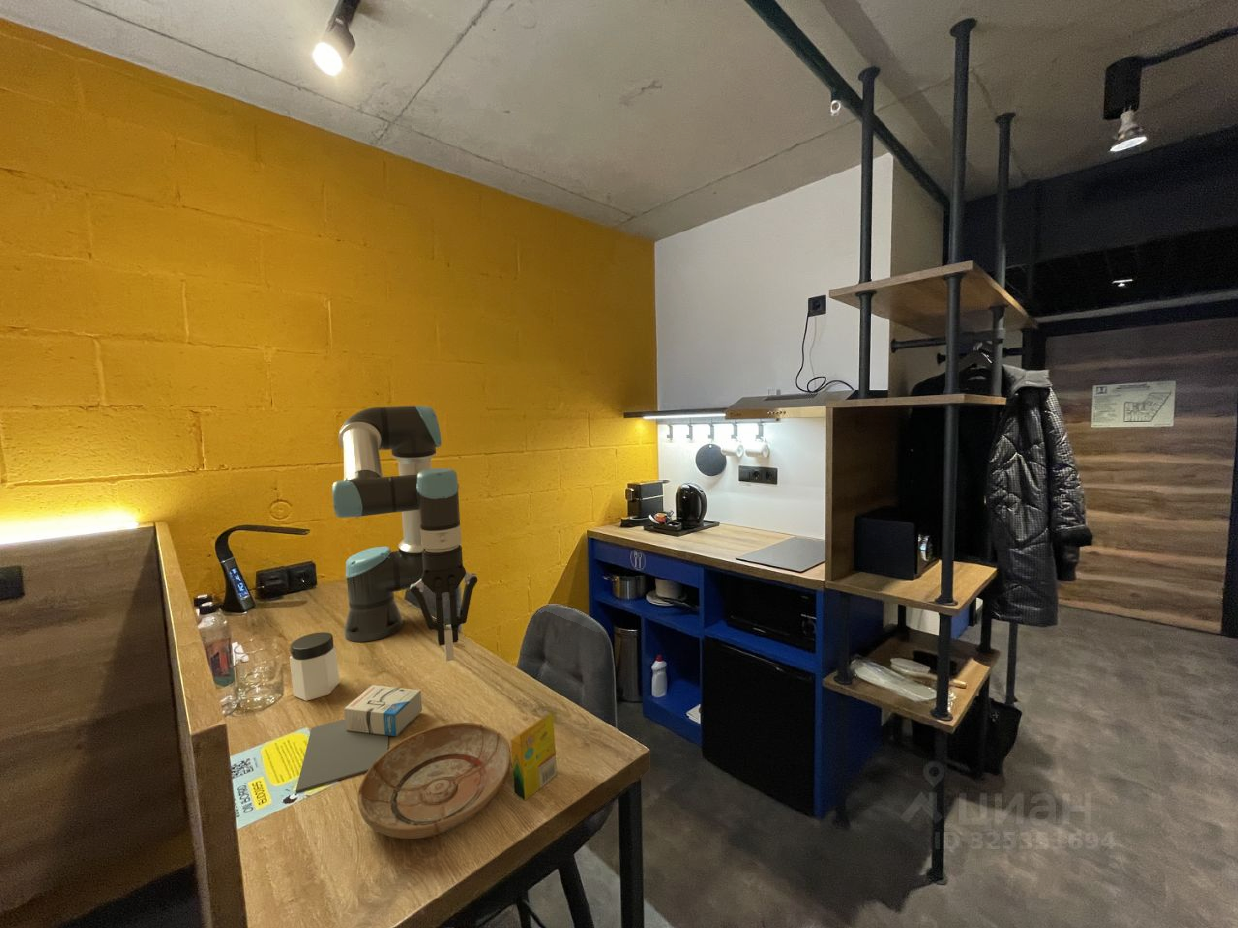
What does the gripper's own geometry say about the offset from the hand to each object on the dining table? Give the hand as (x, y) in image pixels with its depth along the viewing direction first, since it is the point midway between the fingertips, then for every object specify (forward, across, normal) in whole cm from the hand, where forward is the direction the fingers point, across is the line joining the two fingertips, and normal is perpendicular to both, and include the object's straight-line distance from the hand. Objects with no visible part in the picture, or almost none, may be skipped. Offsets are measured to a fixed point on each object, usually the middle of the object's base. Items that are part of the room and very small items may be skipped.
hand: (449, 657), depth 101 cm
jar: (+13, -28, +24) cm, 39 cm away
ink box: (+10, -8, 0) cm, 13 cm away
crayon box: (+12, +11, -26) cm, 31 cm away
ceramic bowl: (+13, -4, -21) cm, 25 cm away
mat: (+13, -19, -1) cm, 23 cm away
